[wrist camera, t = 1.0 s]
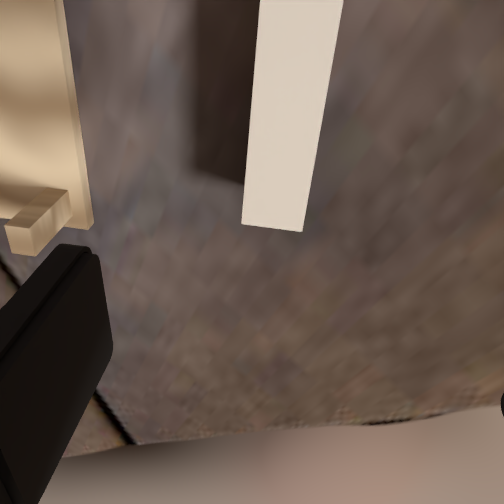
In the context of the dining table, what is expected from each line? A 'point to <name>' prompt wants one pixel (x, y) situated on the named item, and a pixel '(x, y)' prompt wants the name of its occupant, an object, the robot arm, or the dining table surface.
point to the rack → (39, 127)
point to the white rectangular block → (287, 108)
